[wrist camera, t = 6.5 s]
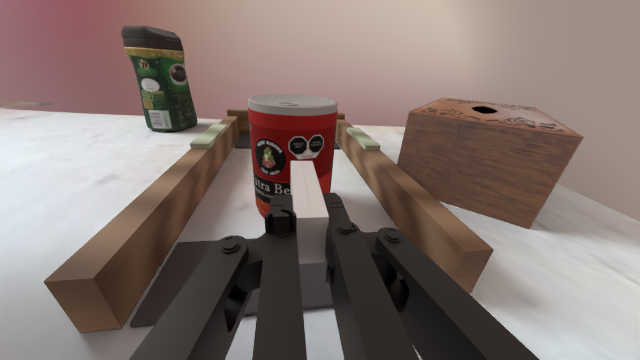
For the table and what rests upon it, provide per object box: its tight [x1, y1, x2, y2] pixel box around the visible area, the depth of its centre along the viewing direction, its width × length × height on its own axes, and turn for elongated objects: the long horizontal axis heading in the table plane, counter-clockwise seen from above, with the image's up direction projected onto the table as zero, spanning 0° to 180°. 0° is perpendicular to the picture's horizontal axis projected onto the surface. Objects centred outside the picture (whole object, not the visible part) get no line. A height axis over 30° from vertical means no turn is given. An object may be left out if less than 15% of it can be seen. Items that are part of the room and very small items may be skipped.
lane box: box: [44, 109, 494, 333], centre depth 31 cm, size 40×24×5 cm, turn 8°
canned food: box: [248, 95, 338, 218], centre depth 22 cm, size 8×8×11 cm
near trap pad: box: [130, 232, 377, 327], centre depth 17 cm, size 6×19×1 cm, turn 98°
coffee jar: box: [121, 26, 197, 132], centre depth 46 cm, size 10×8×19 cm
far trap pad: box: [235, 135, 340, 149], centre depth 45 cm, size 8×19×1 cm, turn 98°
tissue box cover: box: [397, 98, 584, 229], centre depth 34 cm, size 26×14×10 cm, turn 146°
